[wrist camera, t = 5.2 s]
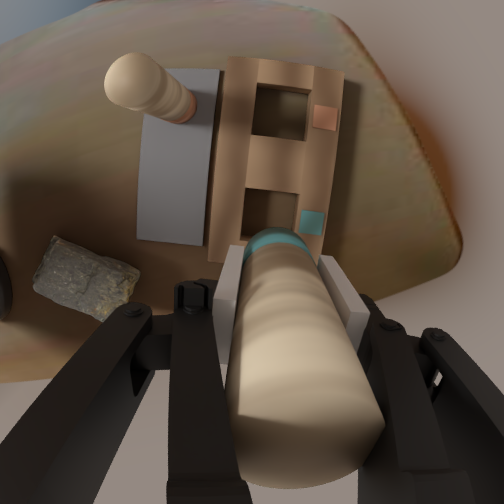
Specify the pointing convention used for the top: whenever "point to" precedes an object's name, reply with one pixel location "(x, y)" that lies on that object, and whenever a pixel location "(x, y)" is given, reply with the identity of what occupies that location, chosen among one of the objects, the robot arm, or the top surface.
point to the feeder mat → (177, 166)
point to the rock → (84, 279)
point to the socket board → (275, 151)
